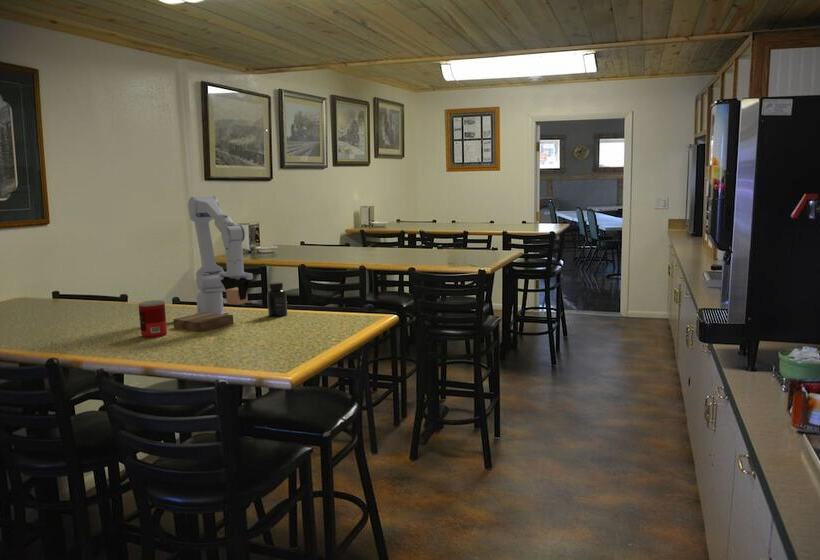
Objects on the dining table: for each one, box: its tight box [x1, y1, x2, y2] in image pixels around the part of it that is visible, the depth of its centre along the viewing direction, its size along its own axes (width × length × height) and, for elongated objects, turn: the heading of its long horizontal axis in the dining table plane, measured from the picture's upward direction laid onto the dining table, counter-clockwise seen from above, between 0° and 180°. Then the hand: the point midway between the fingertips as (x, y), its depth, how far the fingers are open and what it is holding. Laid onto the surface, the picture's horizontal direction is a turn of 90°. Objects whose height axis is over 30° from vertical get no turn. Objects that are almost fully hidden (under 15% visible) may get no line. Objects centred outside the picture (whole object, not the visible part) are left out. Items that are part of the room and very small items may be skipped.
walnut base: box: [172, 312, 234, 332], centre depth 233 cm, size 14×14×3 cm
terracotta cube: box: [225, 286, 249, 306], centre depth 236 cm, size 5×5×5 cm
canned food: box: [138, 299, 168, 339], centre depth 219 cm, size 8×8×11 cm
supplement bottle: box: [266, 281, 288, 318], centre depth 247 cm, size 7×7×12 cm
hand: (237, 298), depth 236 cm, fingers closed on terracotta cube, 5 cm apart
